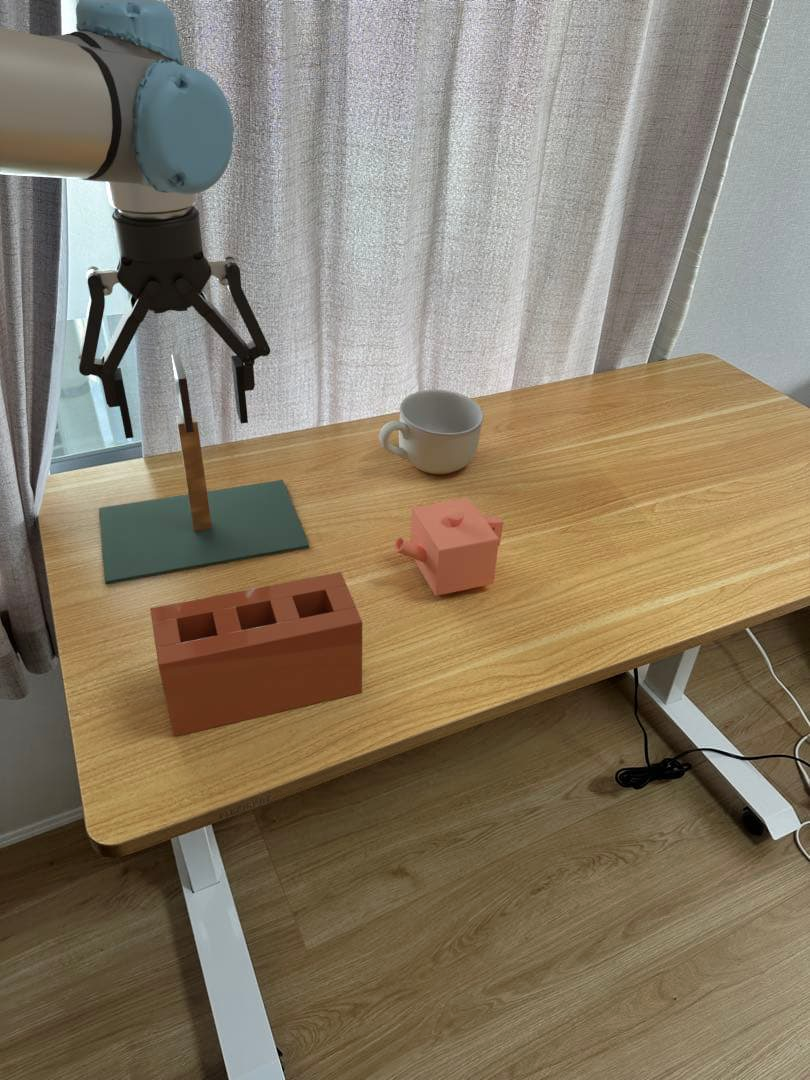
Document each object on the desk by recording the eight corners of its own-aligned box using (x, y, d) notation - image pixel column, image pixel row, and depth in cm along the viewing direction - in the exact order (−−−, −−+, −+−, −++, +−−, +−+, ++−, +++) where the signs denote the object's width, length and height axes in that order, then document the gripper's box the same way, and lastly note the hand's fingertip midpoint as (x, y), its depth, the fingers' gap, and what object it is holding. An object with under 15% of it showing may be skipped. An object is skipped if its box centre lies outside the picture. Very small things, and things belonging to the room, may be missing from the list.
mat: (105, 584, 85) (105, 581, 85) (99, 510, 95) (99, 507, 95) (309, 547, 91) (309, 545, 91) (282, 482, 102) (282, 479, 101)
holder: (362, 692, 74) (362, 621, 69) (173, 737, 70) (158, 664, 64) (341, 641, 80) (340, 571, 74) (165, 679, 75) (150, 607, 69)
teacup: (460, 437, 112) (465, 384, 107) (491, 478, 104) (497, 423, 99) (364, 450, 108) (364, 397, 103) (388, 494, 100) (389, 438, 95)
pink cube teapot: (381, 564, 89) (383, 503, 84) (480, 544, 93) (487, 485, 88) (405, 609, 84) (408, 547, 79) (509, 587, 87) (519, 525, 82)
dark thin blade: (196, 542, 91) (171, 380, 78) (190, 512, 95) (165, 354, 83) (214, 539, 91) (192, 377, 79) (207, 509, 96) (185, 352, 83)
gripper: (276, 189, 78) (288, 394, 91) (13, 202, 71) (67, 421, 84) (294, 211, 72) (303, 426, 85) (10, 228, 66) (69, 458, 79)
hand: (186, 424), depth 85 cm, fingers open, 11 cm apart
